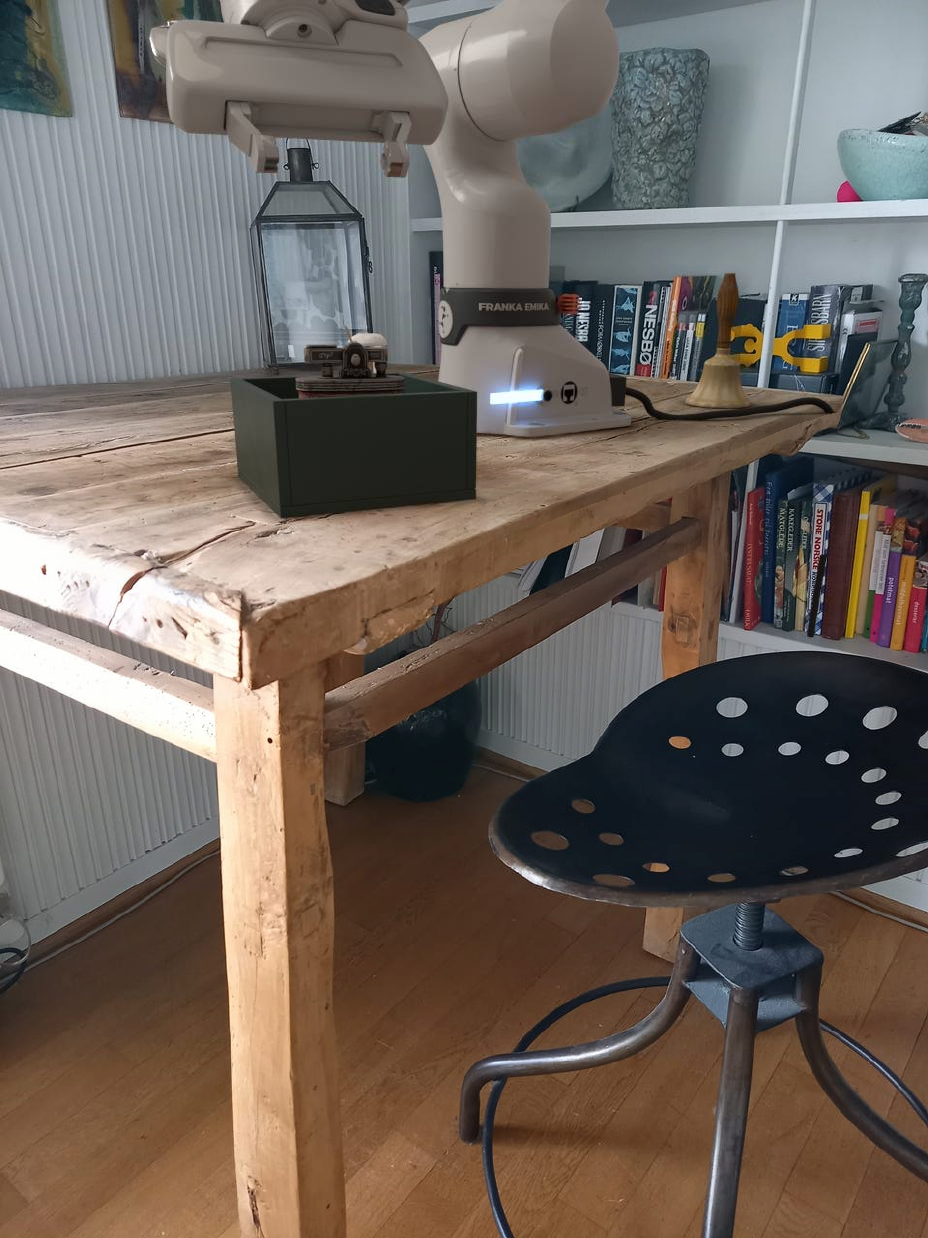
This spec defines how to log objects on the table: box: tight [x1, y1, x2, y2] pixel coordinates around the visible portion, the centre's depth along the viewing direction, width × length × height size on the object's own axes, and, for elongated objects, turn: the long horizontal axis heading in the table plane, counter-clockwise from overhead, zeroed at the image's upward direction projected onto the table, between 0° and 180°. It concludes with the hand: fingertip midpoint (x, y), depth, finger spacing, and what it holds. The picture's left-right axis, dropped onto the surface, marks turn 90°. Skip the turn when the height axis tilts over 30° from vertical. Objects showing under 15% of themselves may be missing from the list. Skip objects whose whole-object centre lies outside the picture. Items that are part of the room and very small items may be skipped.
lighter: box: [296, 342, 404, 398], centre depth 68 cm, size 8×3×10 cm, turn 101°
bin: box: [229, 371, 478, 519], centre depth 69 cm, size 15×15×8 cm
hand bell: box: [684, 272, 752, 409], centre depth 115 cm, size 8×8×16 cm
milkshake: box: [344, 325, 388, 373], centre depth 106 cm, size 4×5×10 cm
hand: (335, 167), depth 63 cm, fingers open, 8 cm apart
